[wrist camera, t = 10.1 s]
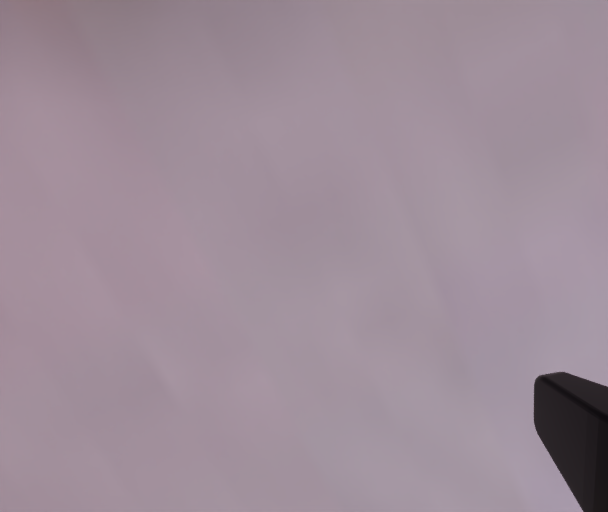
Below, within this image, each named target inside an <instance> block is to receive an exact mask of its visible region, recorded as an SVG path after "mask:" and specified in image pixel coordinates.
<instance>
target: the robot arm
mask: <svg viewBox="0 0 608 512" xmlns="http://www.w3.org/2000/svg"><path fill="white" fill-rule="evenodd" d="M534 424H535V428H536V431H537V433H538V435H539V437H540V439H541V441H542V442H543V444H544V446H545V447H546V449H547V451H548V452H549V454H550V456H551V457H552V459H553V461H554V463H555V464H556V466H557V468H558V469H559V471H560V473H561V474H562V476H563V478H564V479H565V481H566V483H567V485H568V486H569V488H570V490H571V491H572V493H573V495H574V496H575V498H576V500H577V502H578V503H579V505H580V507H581V508H582V510H583V512H608V387H607V386H604V385H601V384H598V383H595V382H592V381H589V380H586V379H583V378H580V377H577V376H574V375H572V374H569V373H566V372H556V373H550V374H545V375H540V376H538V377H537V378H536V380H535V384H534Z"/></svg>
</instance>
